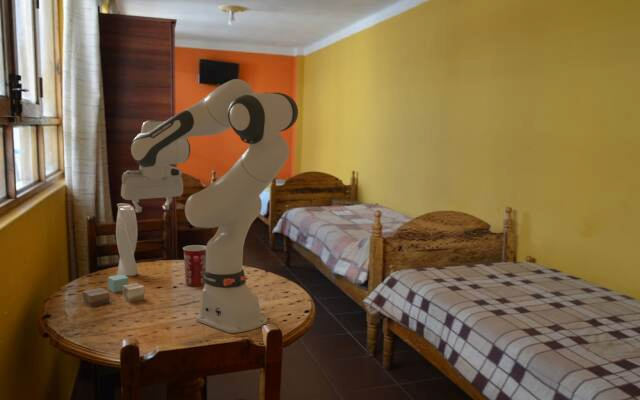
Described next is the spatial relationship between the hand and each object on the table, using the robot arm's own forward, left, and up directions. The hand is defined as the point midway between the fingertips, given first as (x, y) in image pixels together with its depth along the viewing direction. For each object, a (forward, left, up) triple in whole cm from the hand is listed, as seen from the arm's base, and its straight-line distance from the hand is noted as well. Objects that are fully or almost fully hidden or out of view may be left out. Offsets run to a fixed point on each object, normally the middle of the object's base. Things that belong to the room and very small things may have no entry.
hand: (152, 210), depth 166 cm
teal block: (+10, +8, -29) cm, 31 cm away
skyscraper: (+26, -2, -29) cm, 39 cm away
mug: (0, -16, -29) cm, 33 cm away
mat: (+3, +18, -29) cm, 34 cm away
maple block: (-2, +8, -29) cm, 30 cm away
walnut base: (+3, +18, -28) cm, 33 cm away
